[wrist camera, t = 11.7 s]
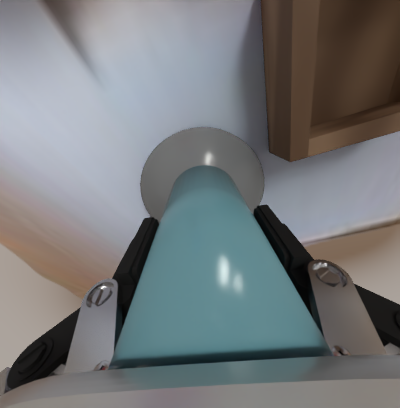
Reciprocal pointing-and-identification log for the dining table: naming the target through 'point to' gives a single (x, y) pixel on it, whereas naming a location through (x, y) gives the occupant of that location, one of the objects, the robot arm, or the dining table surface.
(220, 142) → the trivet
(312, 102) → the cradle
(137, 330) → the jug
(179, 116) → the dining table surface
